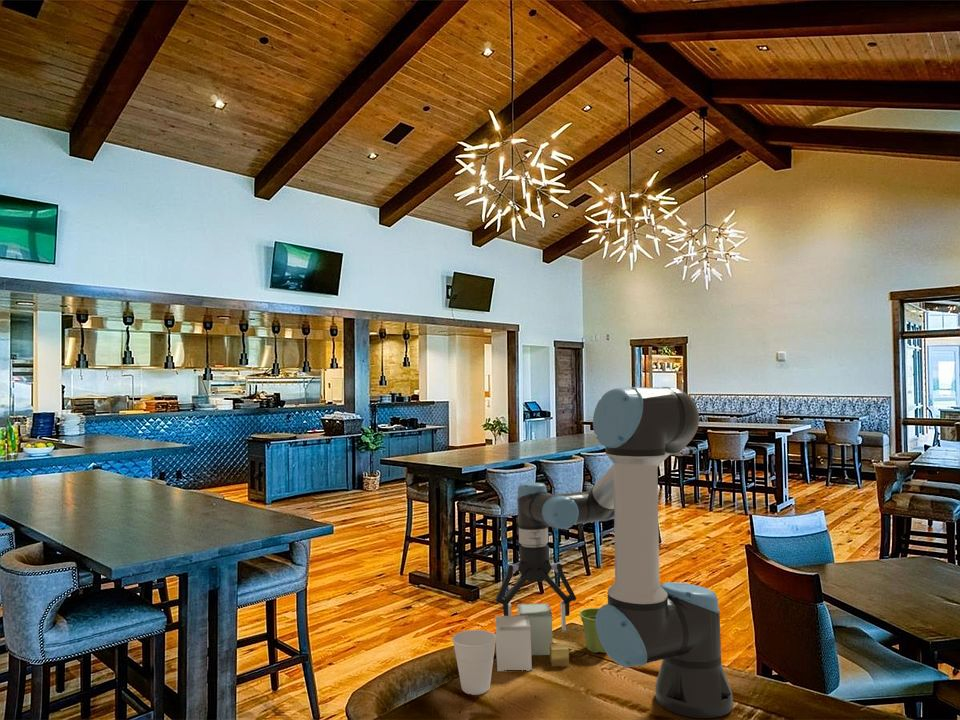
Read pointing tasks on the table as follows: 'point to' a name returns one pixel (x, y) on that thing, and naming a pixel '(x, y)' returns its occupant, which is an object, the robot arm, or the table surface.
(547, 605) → the sage cover
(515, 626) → the white cover
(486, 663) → the cup
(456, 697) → the table surface
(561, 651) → the mustard cube
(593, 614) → the plant pot
